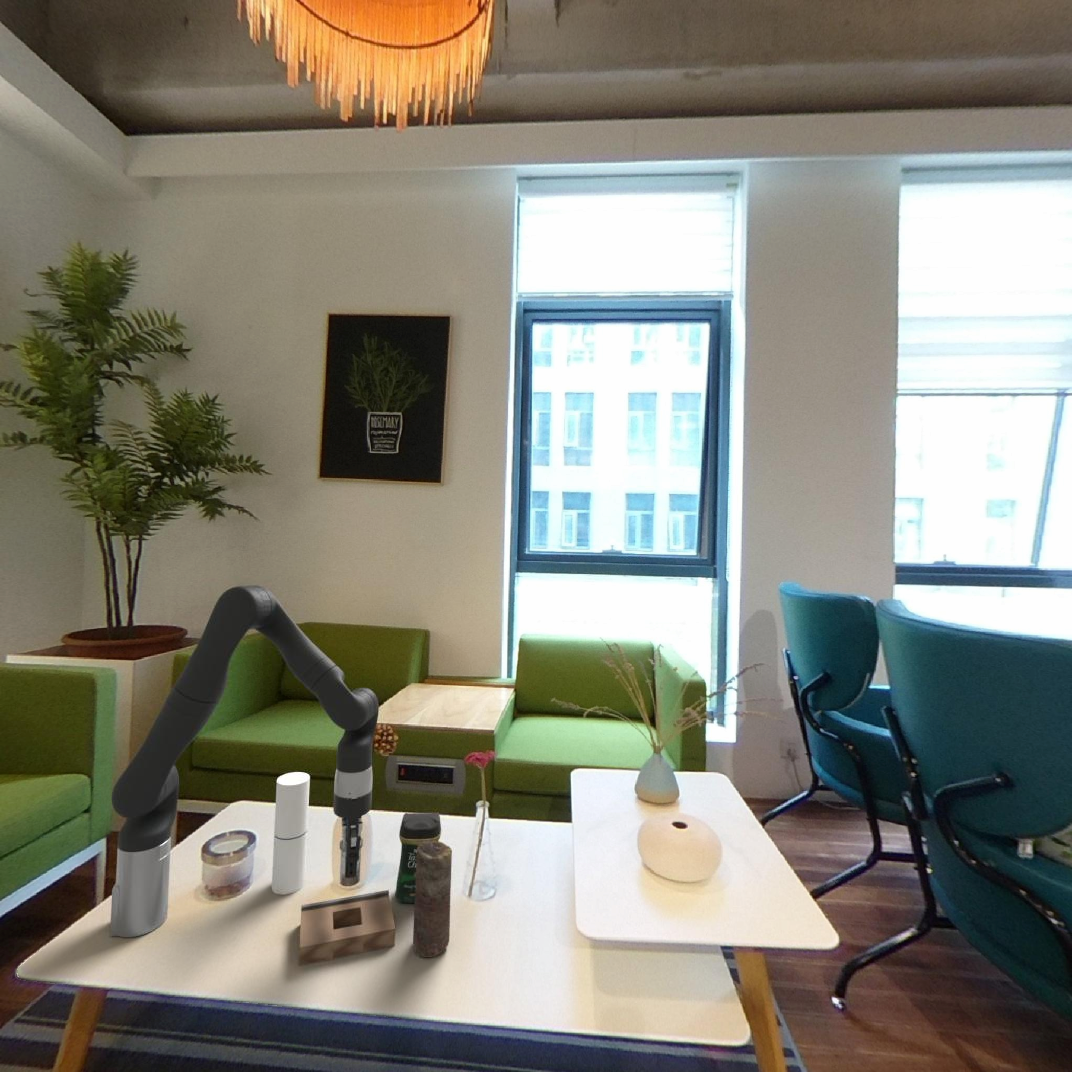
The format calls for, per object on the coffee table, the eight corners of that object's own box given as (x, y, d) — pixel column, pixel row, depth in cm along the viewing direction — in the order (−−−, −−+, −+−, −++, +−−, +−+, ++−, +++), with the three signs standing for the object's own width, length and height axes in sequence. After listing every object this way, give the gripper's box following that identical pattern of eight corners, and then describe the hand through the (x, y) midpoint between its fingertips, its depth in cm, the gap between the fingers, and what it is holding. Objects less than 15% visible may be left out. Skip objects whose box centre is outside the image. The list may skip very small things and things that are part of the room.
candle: (409, 936, 119) (414, 840, 119) (444, 929, 121) (449, 835, 121) (415, 962, 112) (420, 860, 111) (452, 954, 114) (457, 855, 114)
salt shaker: (338, 889, 115) (340, 849, 115) (337, 876, 119) (339, 838, 119) (362, 884, 117) (363, 846, 117) (360, 872, 121) (362, 834, 121)
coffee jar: (394, 906, 128) (398, 824, 127) (397, 884, 135) (401, 807, 135) (438, 904, 129) (441, 823, 129) (438, 883, 137) (442, 806, 137)
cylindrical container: (281, 898, 128) (287, 788, 128) (265, 885, 133) (270, 778, 133) (310, 884, 134) (315, 778, 134) (294, 872, 138) (299, 769, 138)
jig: (298, 965, 109) (299, 944, 109) (300, 924, 120) (301, 905, 120) (394, 945, 116) (395, 925, 116) (387, 908, 127) (388, 889, 127)
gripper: (333, 775, 123) (330, 854, 123) (335, 806, 110) (331, 894, 110) (369, 771, 126) (366, 849, 126) (375, 801, 113) (371, 887, 113)
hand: (350, 869), depth 118 cm, fingers closed on salt shaker, 4 cm apart
